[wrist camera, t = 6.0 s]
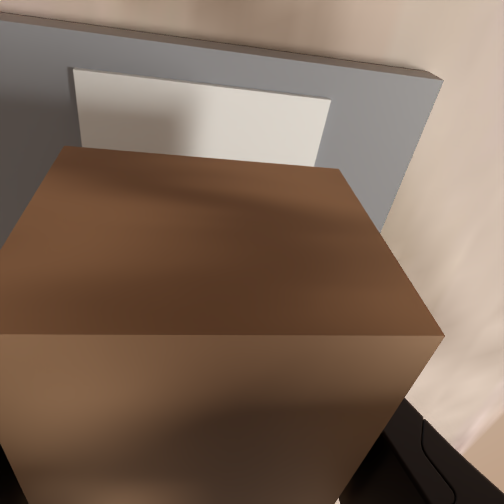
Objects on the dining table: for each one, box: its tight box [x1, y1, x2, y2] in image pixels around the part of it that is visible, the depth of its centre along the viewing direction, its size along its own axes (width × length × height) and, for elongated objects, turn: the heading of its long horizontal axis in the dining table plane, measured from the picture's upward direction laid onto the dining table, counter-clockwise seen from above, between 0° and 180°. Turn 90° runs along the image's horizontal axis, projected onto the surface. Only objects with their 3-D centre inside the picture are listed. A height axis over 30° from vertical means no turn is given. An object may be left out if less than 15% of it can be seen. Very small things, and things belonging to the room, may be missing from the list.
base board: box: [0, 12, 444, 250], centre depth 14 cm, size 14×11×1 cm
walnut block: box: [0, 146, 445, 504], centre depth 9 cm, size 6×8×5 cm
